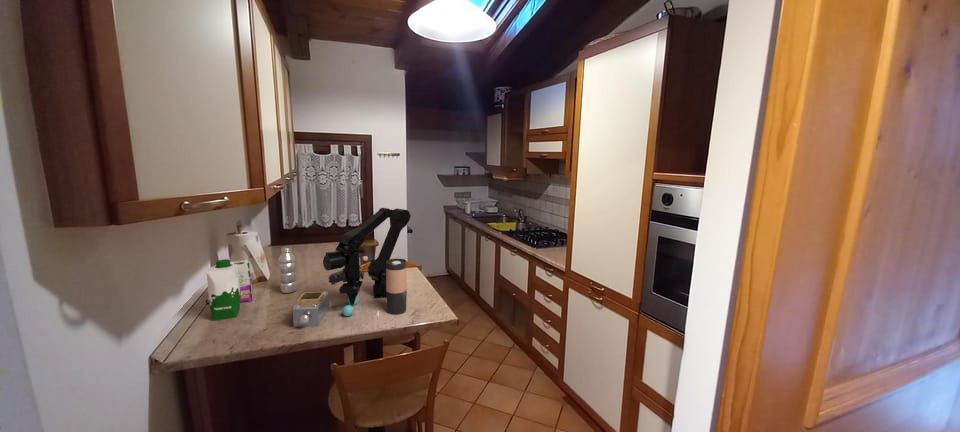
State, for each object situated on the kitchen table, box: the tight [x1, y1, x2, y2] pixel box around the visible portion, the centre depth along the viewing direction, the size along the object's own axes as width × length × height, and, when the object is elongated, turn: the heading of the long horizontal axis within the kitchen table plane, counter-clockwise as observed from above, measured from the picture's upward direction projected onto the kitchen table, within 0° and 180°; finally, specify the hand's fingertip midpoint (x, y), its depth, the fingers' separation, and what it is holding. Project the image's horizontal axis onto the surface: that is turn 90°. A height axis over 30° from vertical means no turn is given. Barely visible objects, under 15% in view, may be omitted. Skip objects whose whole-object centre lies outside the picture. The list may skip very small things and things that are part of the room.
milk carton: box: [206, 258, 241, 321], centre depth 122 cm, size 9×9×20 cm
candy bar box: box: [214, 259, 254, 303], centre depth 134 cm, size 11×5×16 cm, turn 123°
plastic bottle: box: [278, 245, 298, 294], centre depth 145 cm, size 6×7×20 cm
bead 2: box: [347, 296, 359, 306], centre depth 135 cm, size 4×4×4 cm
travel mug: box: [386, 258, 408, 316], centre depth 129 cm, size 8×8×20 cm
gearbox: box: [292, 290, 330, 328], centre depth 121 cm, size 8×16×8 cm, turn 11°
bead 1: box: [341, 304, 355, 317], centre depth 125 cm, size 4×4×4 cm
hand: (353, 302), depth 135 cm, fingers closed on bead 2, 4 cm apart
